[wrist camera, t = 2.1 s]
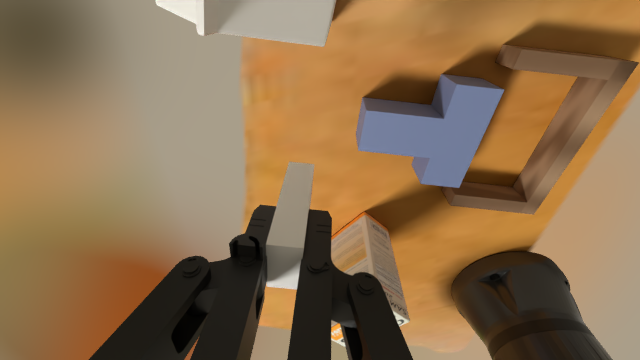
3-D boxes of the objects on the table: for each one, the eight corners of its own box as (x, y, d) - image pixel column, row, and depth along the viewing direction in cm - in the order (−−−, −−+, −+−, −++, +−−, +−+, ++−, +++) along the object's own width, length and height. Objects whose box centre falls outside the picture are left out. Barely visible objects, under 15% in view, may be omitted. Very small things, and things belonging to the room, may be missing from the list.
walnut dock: (518, 198, 33) (533, 214, 30) (441, 190, 33) (450, 205, 30) (607, 56, 24) (639, 62, 22) (502, 44, 24) (522, 49, 22)
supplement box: (347, 257, 40) (351, 352, 29) (323, 241, 39) (317, 335, 28) (390, 228, 37) (412, 323, 26) (365, 209, 35) (378, 302, 24)
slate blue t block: (351, 157, 31) (353, 176, 28) (368, 65, 26) (372, 75, 22) (445, 168, 31) (459, 187, 28) (482, 78, 26) (504, 89, 22)
